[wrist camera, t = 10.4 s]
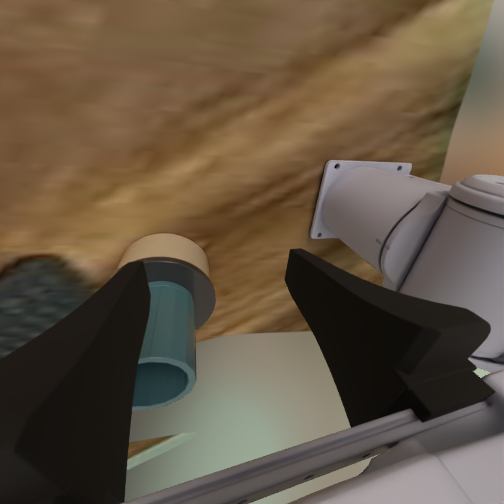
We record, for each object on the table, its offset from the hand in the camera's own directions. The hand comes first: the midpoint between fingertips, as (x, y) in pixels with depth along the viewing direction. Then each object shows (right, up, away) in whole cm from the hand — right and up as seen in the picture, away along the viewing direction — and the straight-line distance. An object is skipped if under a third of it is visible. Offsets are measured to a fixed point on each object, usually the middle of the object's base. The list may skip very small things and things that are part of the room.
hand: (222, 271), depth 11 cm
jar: (-7, -1, +11) cm, 13 cm away
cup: (-6, -4, +7) cm, 10 cm away
